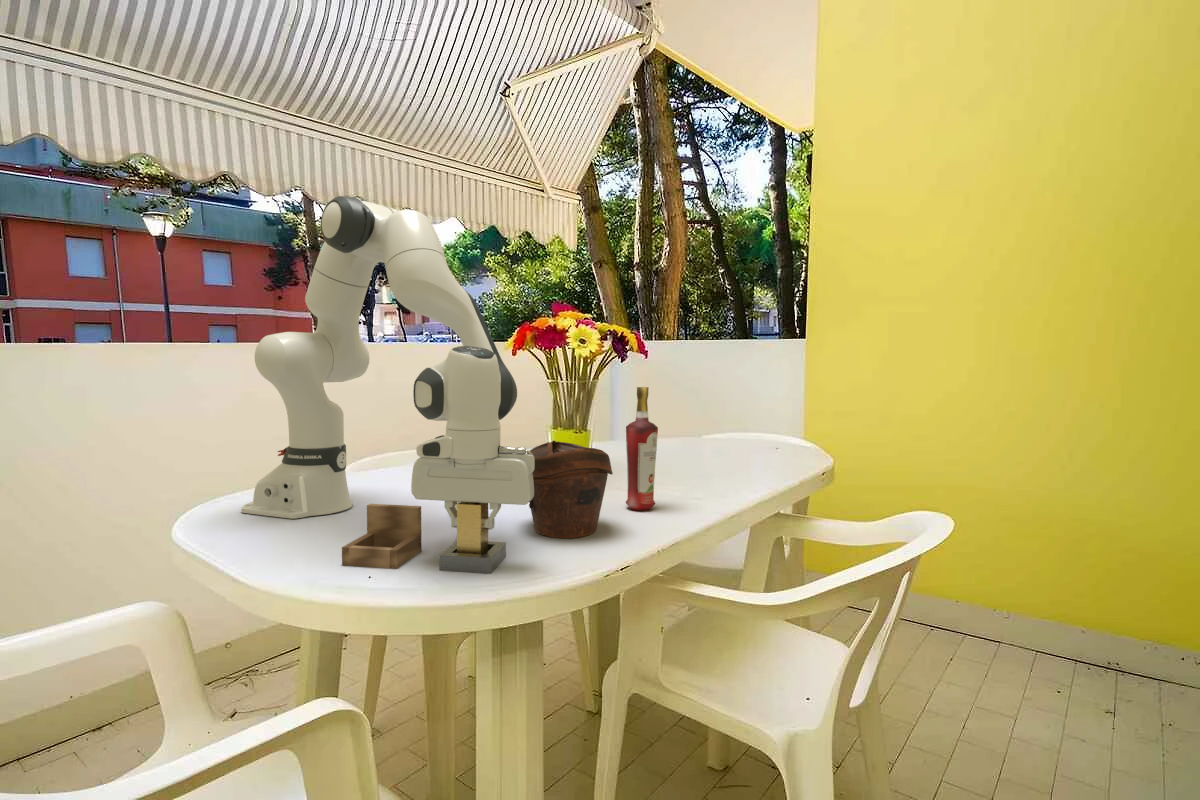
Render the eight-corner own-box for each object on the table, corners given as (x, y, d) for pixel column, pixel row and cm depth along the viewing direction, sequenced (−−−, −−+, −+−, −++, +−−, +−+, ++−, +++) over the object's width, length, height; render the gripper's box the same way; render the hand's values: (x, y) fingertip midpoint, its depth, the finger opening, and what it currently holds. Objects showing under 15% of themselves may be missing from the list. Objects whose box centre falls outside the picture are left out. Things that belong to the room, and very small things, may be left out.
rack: (342, 565, 101) (341, 517, 101) (370, 547, 111) (370, 503, 110) (397, 568, 100) (396, 520, 100) (421, 550, 110) (421, 506, 109)
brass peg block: (456, 558, 102) (457, 479, 101) (465, 550, 106) (465, 475, 105) (480, 559, 101) (480, 481, 100) (488, 552, 105) (488, 476, 104)
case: (549, 512, 138) (549, 432, 136) (629, 526, 128) (630, 440, 126) (497, 532, 122) (497, 442, 121) (583, 550, 112) (584, 452, 111)
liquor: (638, 503, 148) (640, 386, 146) (662, 508, 143) (665, 387, 141) (617, 508, 143) (619, 386, 141) (642, 514, 138) (644, 388, 136)
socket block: (439, 570, 100) (439, 555, 100) (458, 553, 108) (458, 539, 108) (490, 573, 99) (490, 558, 98) (506, 556, 107) (506, 542, 107)
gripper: (539, 445, 104) (538, 526, 105) (423, 440, 106) (423, 519, 107) (530, 450, 98) (529, 536, 99) (406, 445, 100) (407, 529, 101)
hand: (472, 527), depth 103 cm, fingers closed on brass peg block, 4 cm apart
